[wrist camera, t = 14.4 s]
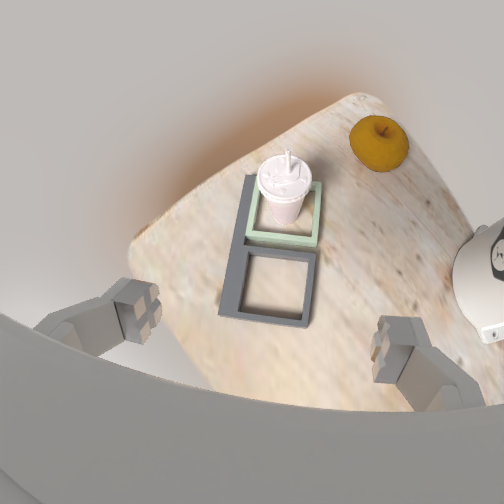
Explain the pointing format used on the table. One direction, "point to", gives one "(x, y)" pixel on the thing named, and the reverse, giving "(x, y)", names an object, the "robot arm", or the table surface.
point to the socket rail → (242, 251)
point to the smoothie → (284, 185)
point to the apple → (379, 143)
